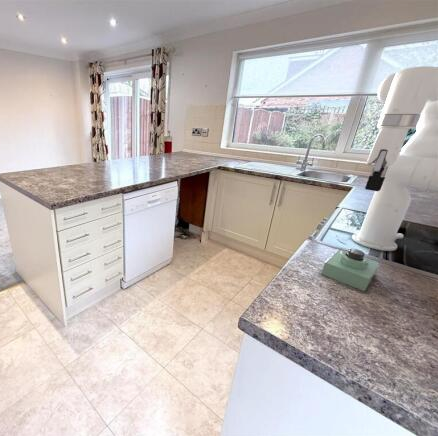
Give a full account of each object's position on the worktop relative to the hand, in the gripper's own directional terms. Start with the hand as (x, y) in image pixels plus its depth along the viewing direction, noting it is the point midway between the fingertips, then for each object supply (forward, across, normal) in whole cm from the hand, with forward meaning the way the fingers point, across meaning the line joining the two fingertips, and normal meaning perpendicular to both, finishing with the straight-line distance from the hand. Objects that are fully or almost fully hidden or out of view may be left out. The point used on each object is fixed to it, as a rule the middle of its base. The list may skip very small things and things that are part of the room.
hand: (372, 189), depth 71 cm
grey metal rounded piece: (+17, +11, +3) cm, 21 cm away
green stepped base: (+23, +11, +3) cm, 26 cm away
